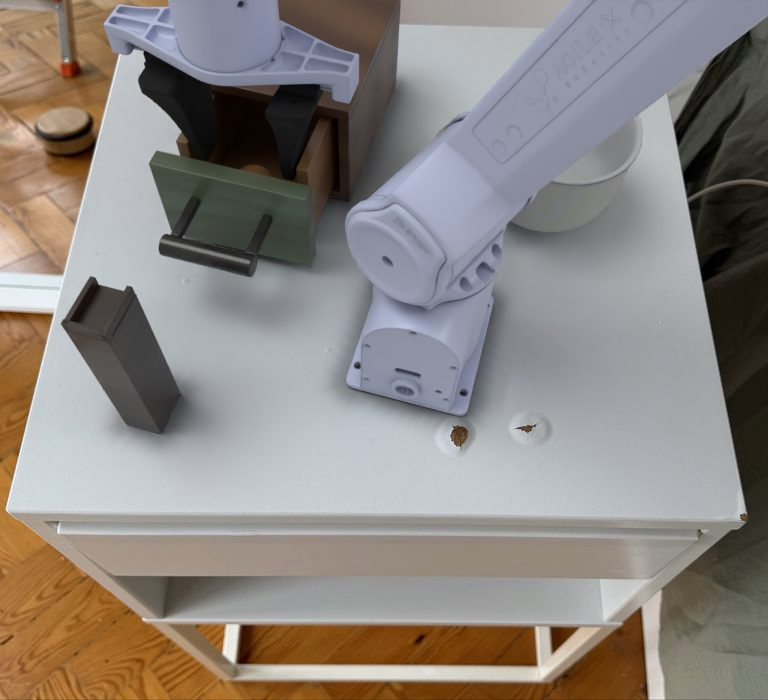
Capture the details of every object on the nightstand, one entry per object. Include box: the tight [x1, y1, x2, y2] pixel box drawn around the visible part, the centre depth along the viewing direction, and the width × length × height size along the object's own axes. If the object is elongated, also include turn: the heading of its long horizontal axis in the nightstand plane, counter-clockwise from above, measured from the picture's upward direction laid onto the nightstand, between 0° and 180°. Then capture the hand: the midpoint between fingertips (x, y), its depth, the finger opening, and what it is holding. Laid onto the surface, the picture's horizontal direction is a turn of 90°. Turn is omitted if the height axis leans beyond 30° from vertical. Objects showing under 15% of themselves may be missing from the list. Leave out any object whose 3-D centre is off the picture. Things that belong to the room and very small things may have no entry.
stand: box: [60, 275, 182, 435], centre depth 41 cm, size 3×2×12 cm
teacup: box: [435, 114, 644, 233], centre depth 52 cm, size 14×11×8 cm
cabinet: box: [211, 0, 402, 202], centre depth 55 cm, size 14×12×9 cm
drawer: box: [148, 91, 339, 278], centre depth 50 cm, size 17×10×7 cm, turn 165°
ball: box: [240, 165, 274, 178], centre depth 51 cm, size 3×3×3 cm
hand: (250, 159), depth 49 cm, fingers open, 5 cm apart
